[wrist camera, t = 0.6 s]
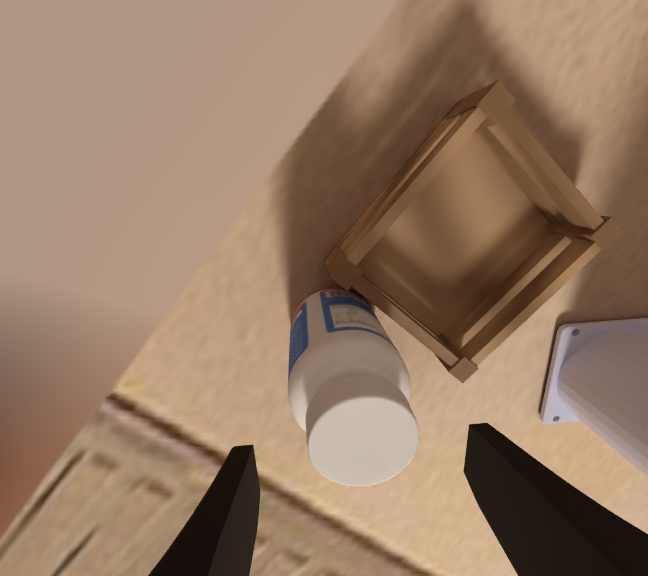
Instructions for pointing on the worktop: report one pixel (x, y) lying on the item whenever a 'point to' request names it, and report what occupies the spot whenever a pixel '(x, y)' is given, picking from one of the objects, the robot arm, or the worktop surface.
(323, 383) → the pill bottle
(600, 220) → the crate
